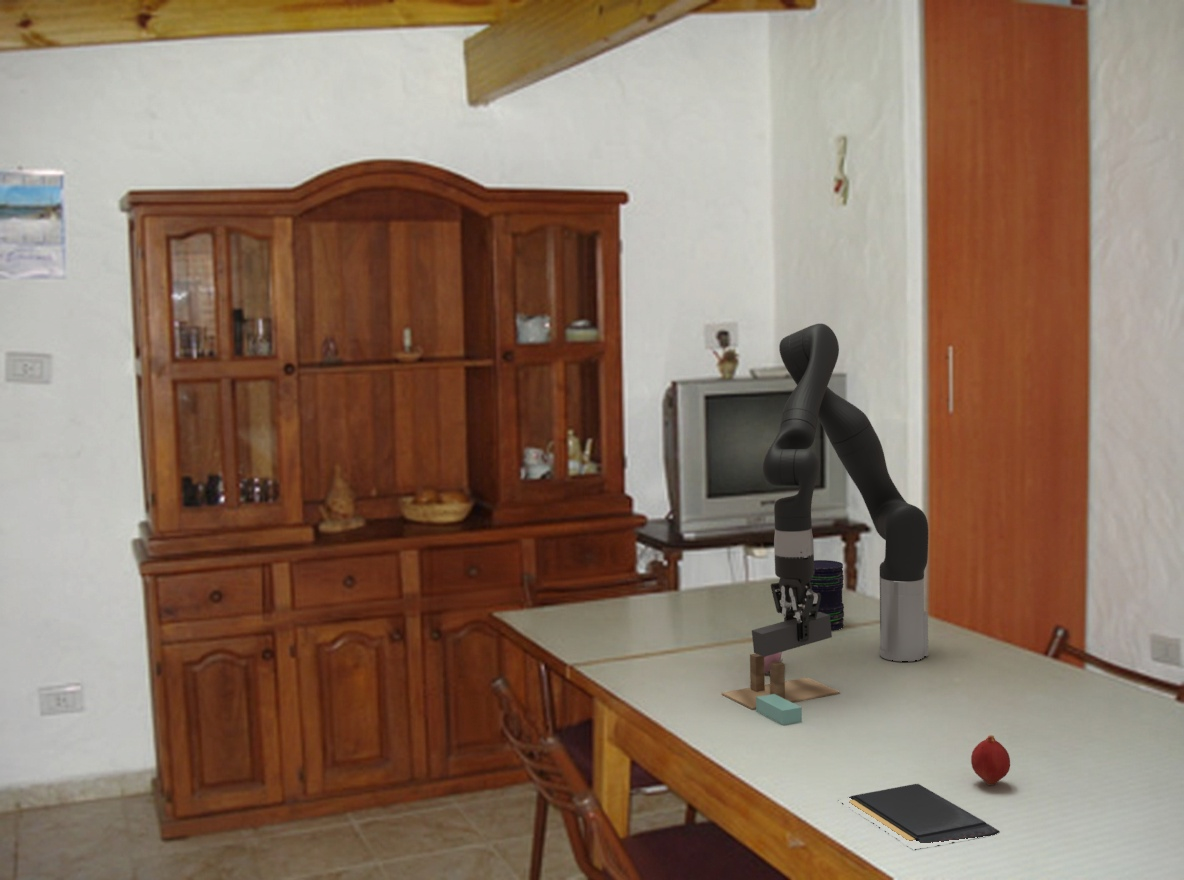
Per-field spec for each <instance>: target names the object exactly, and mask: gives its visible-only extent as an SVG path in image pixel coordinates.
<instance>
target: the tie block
mask: <svg viewBox="0 0 1184 880" xmlns="http://www.w3.org/2000/svg"><path fill="white" fill-rule="evenodd" d="M755 711H756V713H759V714H760V715H762V716H765V717H766V718H768V719H771V720H772V721H774V722H776V723H778V724H780V725H781V726H787V725H792V724H798V723H802V722H803V717H802V716H803V714H802V713H803V711H802V706H800V705H798V704H796V703H795V702H790V701H788V700H786V699H784V698H782V697H780V696H778V695H776V694H771V695H765V696H759V697H756V709H755Z"/></svg>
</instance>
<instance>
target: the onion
mask: <svg viewBox="0 0 1184 880" xmlns="http://www.w3.org/2000/svg"><path fill="white" fill-rule="evenodd" d="M970 763H971V767H972V770H973V771H974V773H975V774H976V775H977V776H978V777H979V778H981V780H983V781H984V782H985V783H986V784H987V785H989V786H994V785H995V784H997V783H998V782H999V781H1001V780H1002V779H1003V778H1005V777H1006V776H1007V774H1008V773H1009V772H1010V768H1011V758H1010V755H1009V752H1008V751H1007V749H1006V748H1005V747H1004V745H1003V744H1002V743H1000V742H999V741H998V740H997V739H996V737H995V736H994V735H992V734H989V735H988V736H987V738H985V739H984V740H982V741H980V742H979V743H978V744H977V745H976V746H975V747H974V748H973V750H972V752H971V757H970Z"/></svg>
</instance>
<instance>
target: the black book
mask: <svg viewBox="0 0 1184 880" xmlns="http://www.w3.org/2000/svg"><path fill="white" fill-rule="evenodd" d="M848 797H849V798H851V799H852V800H850V801H849V803H851V804H852V805H854V806H855V807H857V808H858V809H860V810H862V811H863V812H865V813H866V814H868V815H870V816H871V817H873V818H875V819H876V820H877V821H879V822H881V823H882V824H883V825H885V826H887V827H888V828H890V829H891V830H892V831H894V832H896V833H897V834H898V835H901V836H902V837H903V838H905V839H906V840H909V841H913V840H916V841H919V842H920V843H931V842H932V843H933V842H939V841H941V842H944V841H949V840H959V839H965V838H966V839H968V838H975V837H977V838H978V837H983V836H988V837H991V835H992V836H995V834H996V835H998V834H1000V830H999V829H997V828H995V827H994V826H992V825H990V824H989V823H988V822H986V821H984V820H982V818H979V817H977V816H976V815H974V814H972V813H970V812H968V811H967V810H965V809H963V808H962V807H960V806H958V805H956V804H954V803H952V802H951V801H949V800H948V799H946V798H944V797H942V796H940V795H938V794H937V793H936V792H934V791H932V790H930V789H928V788H926V787H925V786H923V785H921V784H920V783H913V784H908V785H907V784H906V785H902V786H901V785H900V786H897V787H892V788H887V789H883V790H882V789H881V790H875V791H871V792H865V793H860V794H855V795H851V796H848ZM997 833H998V834H997ZM983 838H984V837H983ZM978 839H979V838H978Z"/></svg>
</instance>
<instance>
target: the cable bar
mask: <svg viewBox="0 0 1184 880" xmlns="http://www.w3.org/2000/svg"><path fill="white" fill-rule="evenodd" d="M797 623H798V622H797V617H795V619H791V620H788V621H784V620H783V621H780V622H777V623H773V624H769V625H766V626H762V627H758V628H755V629H752V630H751V636H752V646H753V654H758V655H761V656H763V657H766V656H769V655H773V654H776V653H779V652H782V653H783V652H785V651H790V650H793V649H795V648H800V647H803V646H807V645H810V644H813V643H817V642H820V641H824V640H827V639H830V638H831V639H832V638H833V635H832V634H833V631H831V622H830V615H828V614H825V613H822V612H818V613H817V618H816V620H812V621H809V639H808V641H804V642H800V641H798V639H797Z"/></svg>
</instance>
